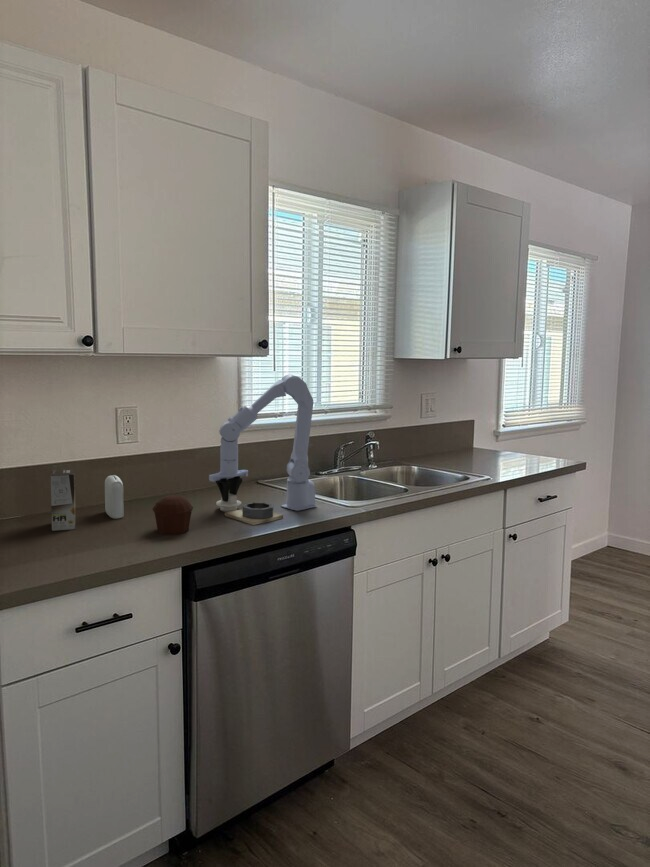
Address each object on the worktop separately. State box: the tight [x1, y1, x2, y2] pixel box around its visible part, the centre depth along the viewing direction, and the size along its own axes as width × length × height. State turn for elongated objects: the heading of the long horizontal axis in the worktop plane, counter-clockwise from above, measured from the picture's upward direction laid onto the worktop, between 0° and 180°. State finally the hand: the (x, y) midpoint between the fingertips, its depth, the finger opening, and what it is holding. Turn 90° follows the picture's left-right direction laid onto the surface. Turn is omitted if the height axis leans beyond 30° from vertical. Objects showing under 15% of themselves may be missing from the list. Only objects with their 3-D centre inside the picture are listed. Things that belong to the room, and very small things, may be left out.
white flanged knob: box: [215, 493, 242, 513], centre depth 215 cm, size 8×8×5 cm
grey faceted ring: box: [242, 501, 274, 519], centre depth 205 cm, size 9×9×3 cm
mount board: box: [224, 508, 284, 526], centre depth 206 cm, size 12×14×1 cm
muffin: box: [152, 494, 194, 536], centre depth 189 cm, size 12×11×10 cm
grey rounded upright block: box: [104, 474, 125, 519], centre depth 204 cm, size 10×4×12 cm, turn 29°
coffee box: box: [49, 468, 76, 532], centre depth 190 cm, size 9×6×16 cm
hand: (228, 500), depth 214 cm, fingers closed on white flanged knob, 2 cm apart
